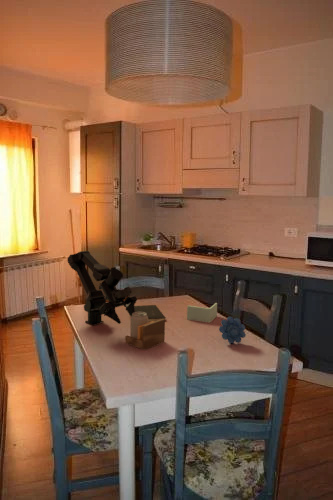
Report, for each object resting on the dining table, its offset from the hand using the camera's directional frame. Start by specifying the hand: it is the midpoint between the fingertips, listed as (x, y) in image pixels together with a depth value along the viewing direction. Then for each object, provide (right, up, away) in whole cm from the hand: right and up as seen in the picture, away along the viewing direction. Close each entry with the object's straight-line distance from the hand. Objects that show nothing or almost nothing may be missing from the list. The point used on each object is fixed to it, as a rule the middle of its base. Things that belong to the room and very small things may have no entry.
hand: (127, 320), depth 180 cm
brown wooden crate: (+7, -8, -5) cm, 12 cm away
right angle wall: (+35, -4, +30) cm, 46 cm away
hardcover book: (+6, -3, +33) cm, 33 cm away
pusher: (+8, -8, -6) cm, 13 cm away
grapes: (+45, -9, -6) cm, 46 cm away
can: (+5, -8, -3) cm, 10 cm away
